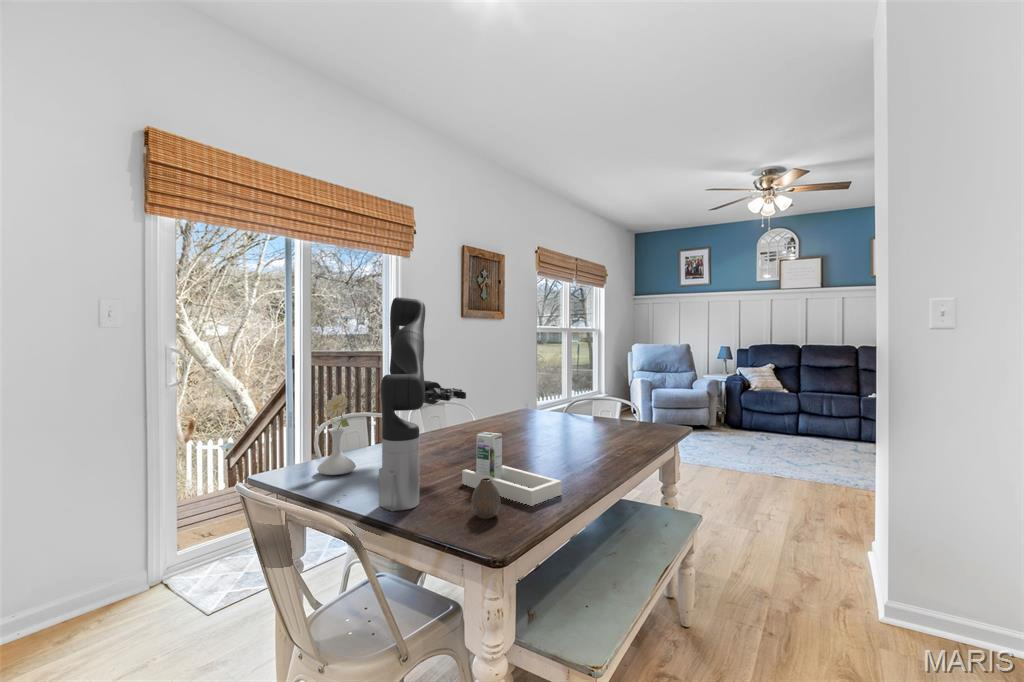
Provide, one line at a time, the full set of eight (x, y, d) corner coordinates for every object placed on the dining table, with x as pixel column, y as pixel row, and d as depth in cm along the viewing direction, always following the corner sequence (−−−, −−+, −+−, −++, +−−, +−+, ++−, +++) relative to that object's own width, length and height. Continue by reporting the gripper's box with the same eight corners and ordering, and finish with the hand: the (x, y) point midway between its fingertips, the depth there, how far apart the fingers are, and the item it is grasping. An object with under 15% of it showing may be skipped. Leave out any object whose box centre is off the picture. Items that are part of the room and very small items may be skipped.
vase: (500, 510, 122) (500, 475, 121) (500, 521, 115) (500, 483, 115) (472, 510, 121) (472, 475, 121) (470, 521, 114) (470, 483, 114)
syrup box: (475, 484, 142) (475, 434, 142) (485, 479, 147) (486, 431, 147) (492, 487, 140) (492, 436, 139) (502, 482, 145) (502, 432, 145)
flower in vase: (311, 472, 154) (311, 393, 154) (347, 466, 162) (346, 390, 162) (327, 482, 145) (327, 397, 144) (364, 474, 152) (364, 393, 152)
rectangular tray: (531, 507, 124) (531, 491, 124) (462, 484, 143) (462, 470, 143) (561, 495, 132) (561, 480, 132) (492, 475, 151) (492, 462, 151)
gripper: (406, 382, 160) (438, 386, 148) (442, 379, 170) (474, 382, 158) (407, 405, 160) (438, 411, 148) (442, 400, 170) (474, 406, 158)
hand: (457, 396), depth 153 cm, fingers open, 5 cm apart
